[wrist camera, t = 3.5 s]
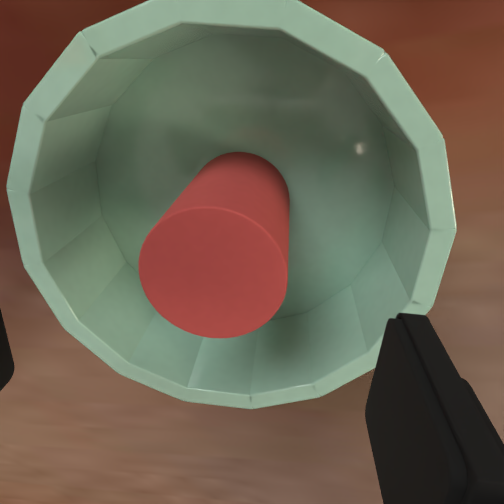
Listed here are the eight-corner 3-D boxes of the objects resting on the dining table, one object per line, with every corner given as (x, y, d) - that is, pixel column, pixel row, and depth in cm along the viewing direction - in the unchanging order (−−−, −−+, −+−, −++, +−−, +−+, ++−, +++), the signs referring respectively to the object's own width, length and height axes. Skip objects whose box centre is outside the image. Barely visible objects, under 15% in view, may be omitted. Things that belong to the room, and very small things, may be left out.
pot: (448, 25, 15) (527, 8, 10) (371, 341, 21) (395, 427, 16) (64, 1, 15) (-43, -26, 10) (103, 312, 22) (48, 385, 17)
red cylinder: (295, 155, 17) (296, 213, 10) (284, 249, 19) (280, 346, 12) (191, 147, 17) (132, 199, 11) (192, 240, 19) (142, 331, 13)
